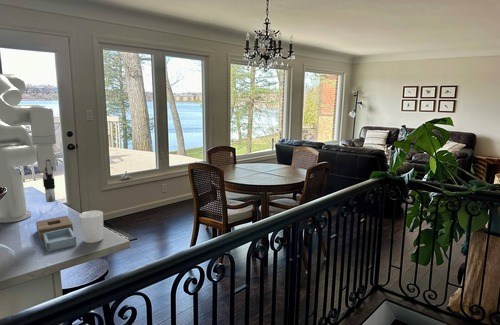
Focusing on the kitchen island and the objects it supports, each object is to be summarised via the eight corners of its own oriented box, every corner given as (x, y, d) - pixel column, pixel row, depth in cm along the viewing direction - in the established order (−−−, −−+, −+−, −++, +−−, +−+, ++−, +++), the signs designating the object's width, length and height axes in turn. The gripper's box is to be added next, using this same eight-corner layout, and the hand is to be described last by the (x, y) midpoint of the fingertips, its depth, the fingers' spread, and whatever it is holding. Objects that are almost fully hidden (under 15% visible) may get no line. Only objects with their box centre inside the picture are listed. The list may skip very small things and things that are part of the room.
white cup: (106, 241, 124) (104, 215, 122) (82, 245, 120) (79, 219, 118) (103, 233, 131) (101, 209, 129) (81, 237, 127) (78, 212, 125)
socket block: (37, 230, 133) (36, 221, 132) (68, 224, 139) (67, 215, 138) (40, 240, 124) (39, 230, 123) (73, 233, 131) (72, 223, 130)
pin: (45, 200, 130) (42, 171, 127) (54, 199, 131) (51, 170, 129) (46, 202, 127) (43, 173, 125) (55, 201, 129) (52, 172, 127)
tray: (43, 240, 124) (42, 233, 123) (71, 234, 129) (70, 227, 129) (47, 251, 115) (46, 243, 115) (76, 244, 121) (75, 237, 120)
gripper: (30, 138, 129) (35, 184, 132) (34, 143, 116) (40, 194, 120) (52, 136, 133) (57, 181, 137) (59, 142, 120) (64, 191, 124)
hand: (49, 187), depth 128 cm, fingers closed on pin, 3 cm apart
